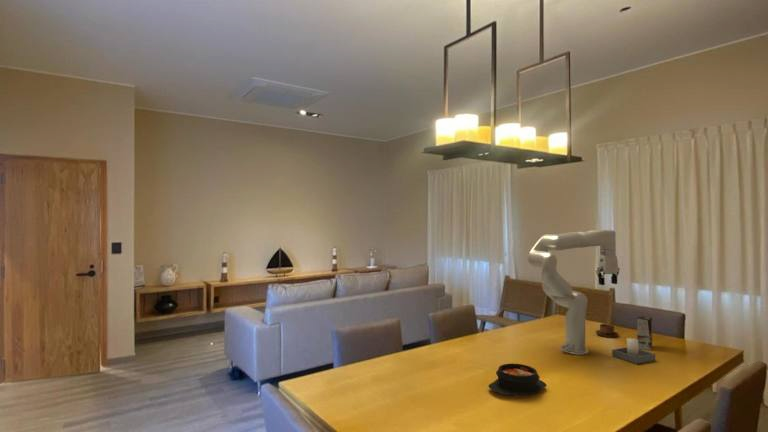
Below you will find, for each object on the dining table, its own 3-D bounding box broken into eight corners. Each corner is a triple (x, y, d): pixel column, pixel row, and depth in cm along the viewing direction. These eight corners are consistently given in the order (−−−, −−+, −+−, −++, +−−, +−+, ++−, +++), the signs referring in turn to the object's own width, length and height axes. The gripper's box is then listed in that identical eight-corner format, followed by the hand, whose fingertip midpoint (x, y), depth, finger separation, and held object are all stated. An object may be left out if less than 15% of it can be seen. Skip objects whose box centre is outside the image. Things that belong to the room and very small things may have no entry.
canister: (635, 359, 205) (634, 341, 205) (625, 356, 209) (624, 339, 209) (640, 357, 207) (640, 339, 207) (630, 354, 212) (630, 337, 212)
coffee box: (651, 350, 221) (650, 320, 221) (636, 348, 225) (636, 318, 225) (652, 346, 228) (652, 317, 228) (638, 344, 232) (638, 315, 232)
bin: (636, 364, 200) (636, 357, 200) (612, 356, 212) (612, 349, 212) (655, 361, 205) (655, 353, 205) (630, 353, 217) (629, 346, 217)
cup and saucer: (621, 339, 243) (621, 328, 243) (599, 338, 245) (599, 327, 245) (614, 333, 255) (614, 323, 255) (593, 332, 257) (593, 322, 257)
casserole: (523, 377, 185) (523, 358, 185) (557, 392, 168) (557, 371, 168) (478, 387, 173) (478, 367, 173) (510, 405, 157) (510, 382, 157)
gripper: (602, 253, 220) (602, 286, 220) (625, 252, 227) (625, 284, 227) (590, 252, 227) (590, 284, 227) (612, 251, 234) (612, 282, 234)
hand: (607, 284), depth 227 cm, fingers open, 9 cm apart
